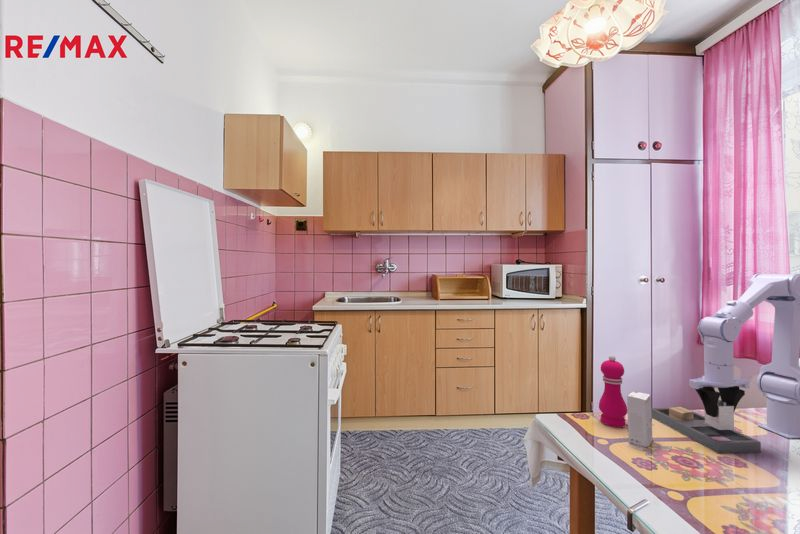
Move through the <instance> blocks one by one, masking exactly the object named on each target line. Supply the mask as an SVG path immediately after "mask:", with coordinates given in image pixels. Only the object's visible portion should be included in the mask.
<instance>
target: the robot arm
mask: <svg viewBox="0 0 800 534" xmlns="http://www.w3.org/2000/svg"><path fill="white" fill-rule="evenodd" d="M763 302H765V303H769V304H771V306H773V307H774V319H773V321H774V322H773V335H772V337H773V338H772V351H771V362H770V363H767V364H764V365H762V366H761V367H760V370H759V372H758V373H759V374H758V376H757V377H756V387H757V389H758V390H759V391H760V392H761V393H762V396H763V397H766V402H765V403H766V423H757V426H758V427H760V428H762V429H765V430H767V431H770V432H773V433H775V434H776V435H779V436H782V437H784V438H787V439H800V364H799V363H800V273H785V274H784V273H774V274H773V273H755V274H753V276H752V277H751V278H749V281H748V288H746V290H745V292H744V293H743V294H742V295H741V296H740V297H739V298H738V299H737V300H736V299H735V300H734V299H733V300H728V301H727V302H726V303H725V304H724V305H723V306H722V307H721V308H720V309H718V310H717V311H716V312H715V313H714V314H713V315H712V316H705V317H704V318H701V320H699V322H698V326H697V331H698V334H699V336H700V342H701V343H702V344H703V361H704V362H703V363H704V365H703V367H704V368H703V371H704V372H703V374H704V375H702V376H701V377H698V378H692V379H691V378H690V379H688V386H689V387H690V388H692V389H694V390H695V391H696V392H697V394H698V397H699V398H700V400H701V401H702V404H703V407H704V412H705V411H706V414H707V415H709V416H712V417H716V414H717V404H718V400H721V401H723V402H726V403H727V404H730V405H732V406H734V413H735V412H736V409H737V407H738V404H739V403H740V402H741V399H742V398H743V397H745V395H746V391H745V390H743V389H750V381H749V380H748V379H744V378H735V369H734V367H735V365H734V341H736V340H737V339H738V338H739V337H740V332H741V330H742V328H743V327H742V326H743V325H745V323H746V322H747V321H749V320H750V319H751V318H752V317H753V316H754V310H753V309H755V307H757V306H759V305H760V304H761V303H763ZM740 388H743V389H740ZM715 389H717V391H716V390H715Z"/></svg>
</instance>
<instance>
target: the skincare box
mask: <svg viewBox="0 0 800 534" xmlns="http://www.w3.org/2000/svg"><path fill="white" fill-rule="evenodd" d="M626 400H627V404H626V406H627V425H628V427H627V429H628V435H627V436H628V442H629V443H631V444H634V445H637V446H640V447H643V448H648V447H649V446H650V445H651V444H652V442H653V420H652V419H653V418H652V415H651V408H652V399H651V394H649V393H645V392H640V391H632V392H630V393H628V395H627V399H626Z"/></svg>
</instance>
